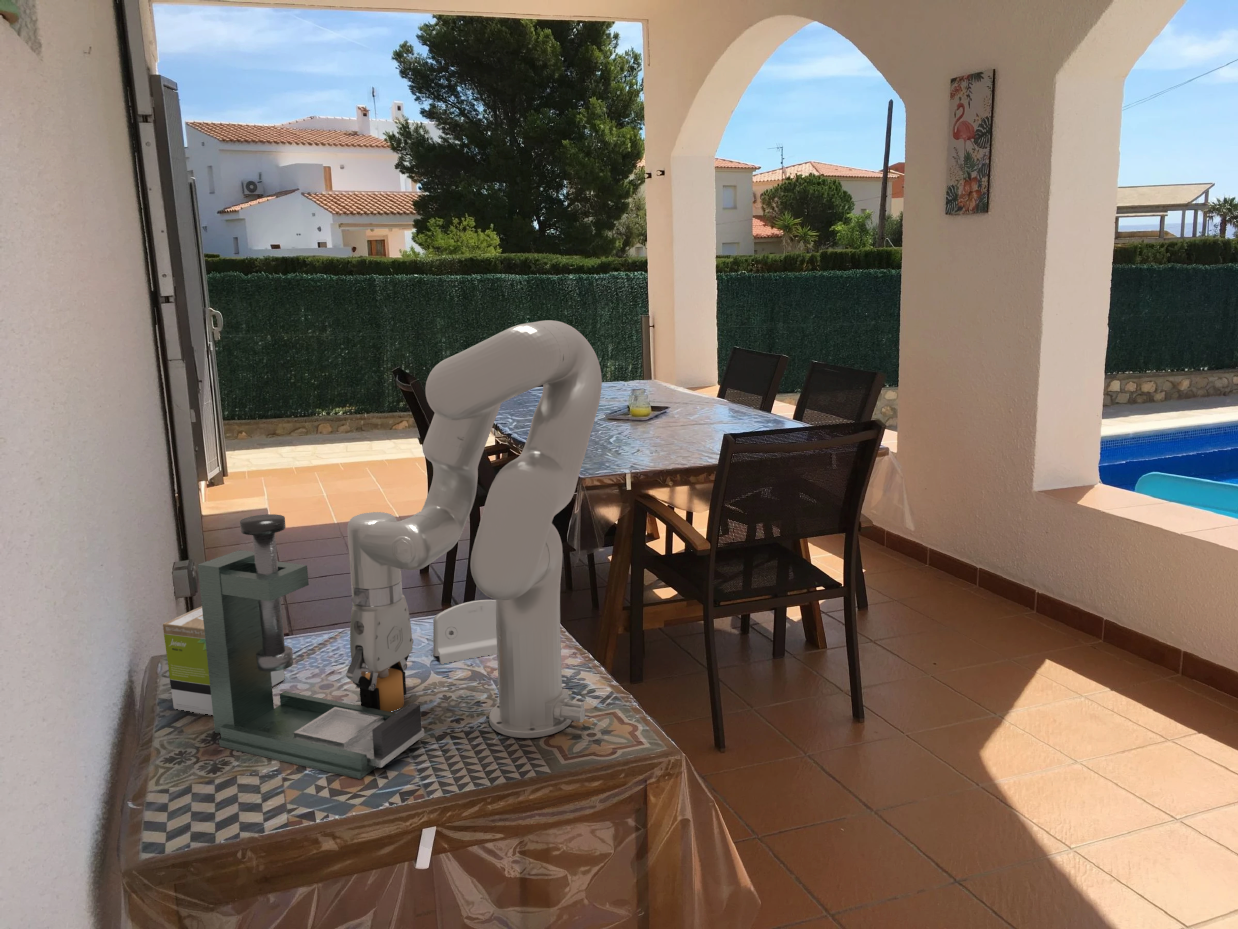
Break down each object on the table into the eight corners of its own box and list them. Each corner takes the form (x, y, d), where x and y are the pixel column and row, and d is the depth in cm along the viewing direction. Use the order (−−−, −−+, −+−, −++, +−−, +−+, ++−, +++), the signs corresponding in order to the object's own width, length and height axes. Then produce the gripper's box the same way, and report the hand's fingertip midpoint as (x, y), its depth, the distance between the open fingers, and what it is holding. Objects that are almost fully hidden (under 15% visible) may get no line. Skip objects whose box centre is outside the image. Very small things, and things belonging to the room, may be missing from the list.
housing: (411, 701, 152) (409, 662, 150) (388, 716, 146) (386, 677, 145) (380, 695, 154) (378, 657, 153) (356, 710, 148) (354, 671, 147)
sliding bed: (424, 735, 137) (422, 702, 137) (381, 767, 128) (378, 733, 128) (338, 717, 144) (336, 686, 143) (291, 747, 134) (288, 714, 134)
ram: (305, 660, 141) (293, 516, 137) (276, 675, 136) (263, 526, 132) (274, 654, 144) (261, 512, 140) (244, 669, 138) (230, 522, 134)
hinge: (439, 665, 166) (431, 607, 167) (433, 664, 170) (425, 608, 171) (529, 648, 173) (521, 593, 174) (522, 648, 177) (514, 594, 178)
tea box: (237, 673, 163) (230, 591, 161) (286, 681, 160) (279, 596, 157) (170, 710, 149) (160, 621, 147) (222, 719, 146) (213, 628, 143)
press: (421, 734, 140) (411, 564, 135) (360, 779, 128) (346, 594, 123) (268, 702, 152) (254, 545, 147) (198, 741, 139) (180, 570, 134)
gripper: (361, 614, 137) (369, 730, 141) (429, 579, 153) (435, 685, 156) (319, 608, 140) (328, 721, 144) (391, 574, 156) (397, 678, 159)
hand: (384, 701), depth 150 cm, fingers closed on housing, 6 cm apart
